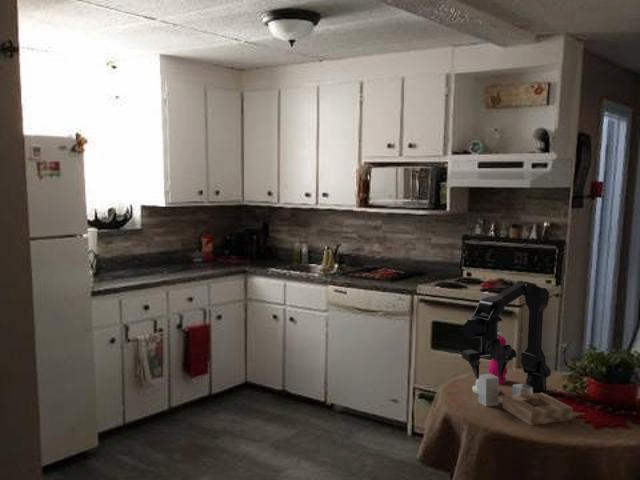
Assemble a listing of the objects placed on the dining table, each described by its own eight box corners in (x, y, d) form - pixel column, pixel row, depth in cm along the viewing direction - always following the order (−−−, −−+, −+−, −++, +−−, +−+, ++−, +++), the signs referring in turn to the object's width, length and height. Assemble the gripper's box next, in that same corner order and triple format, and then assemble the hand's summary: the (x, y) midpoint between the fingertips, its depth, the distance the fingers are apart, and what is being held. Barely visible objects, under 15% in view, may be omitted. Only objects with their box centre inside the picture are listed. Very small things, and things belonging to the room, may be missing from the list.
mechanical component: (495, 398, 223) (502, 390, 231) (495, 386, 222) (502, 379, 231) (468, 393, 228) (477, 386, 236) (468, 381, 228) (477, 375, 236)
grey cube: (524, 396, 223) (524, 383, 223) (532, 401, 218) (532, 387, 218) (512, 398, 222) (512, 384, 221) (520, 402, 217) (520, 389, 217)
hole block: (542, 403, 215) (542, 392, 215) (572, 419, 200) (572, 407, 200) (502, 408, 211) (502, 397, 211) (530, 425, 196) (530, 413, 195)
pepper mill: (507, 384, 237) (508, 334, 235) (488, 383, 238) (489, 333, 237) (506, 379, 244) (506, 330, 242) (487, 378, 245) (488, 329, 244)
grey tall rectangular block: (490, 400, 219) (491, 373, 219) (498, 405, 215) (498, 377, 214) (478, 401, 218) (478, 374, 217) (485, 406, 213) (486, 378, 212)
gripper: (477, 342, 204) (477, 387, 205) (525, 337, 209) (525, 381, 210) (461, 334, 215) (461, 377, 216) (507, 330, 220) (506, 372, 221)
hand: (488, 377), depth 216 cm, fingers open, 9 cm apart
